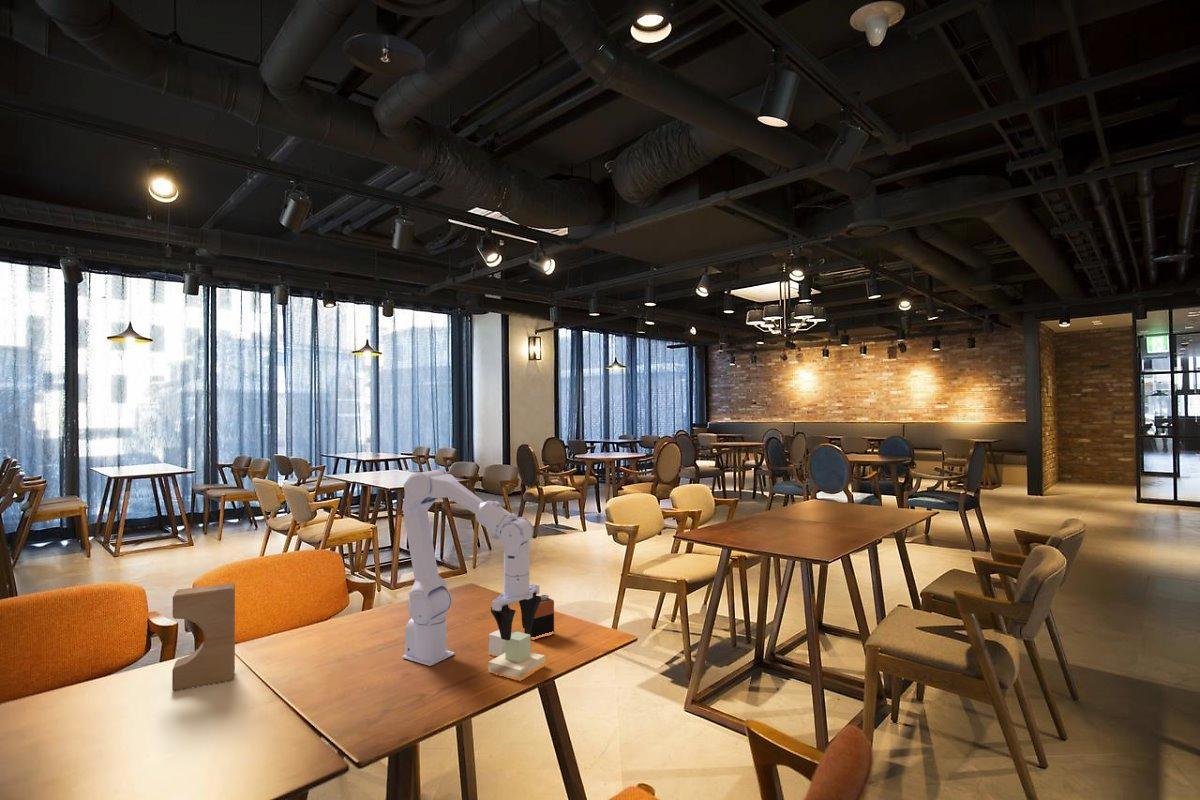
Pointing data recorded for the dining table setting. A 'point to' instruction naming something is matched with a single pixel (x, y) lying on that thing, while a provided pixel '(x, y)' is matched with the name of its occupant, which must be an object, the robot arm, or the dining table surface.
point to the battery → (542, 618)
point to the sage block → (518, 647)
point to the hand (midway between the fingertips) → (516, 633)
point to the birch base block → (515, 665)
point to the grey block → (496, 643)
